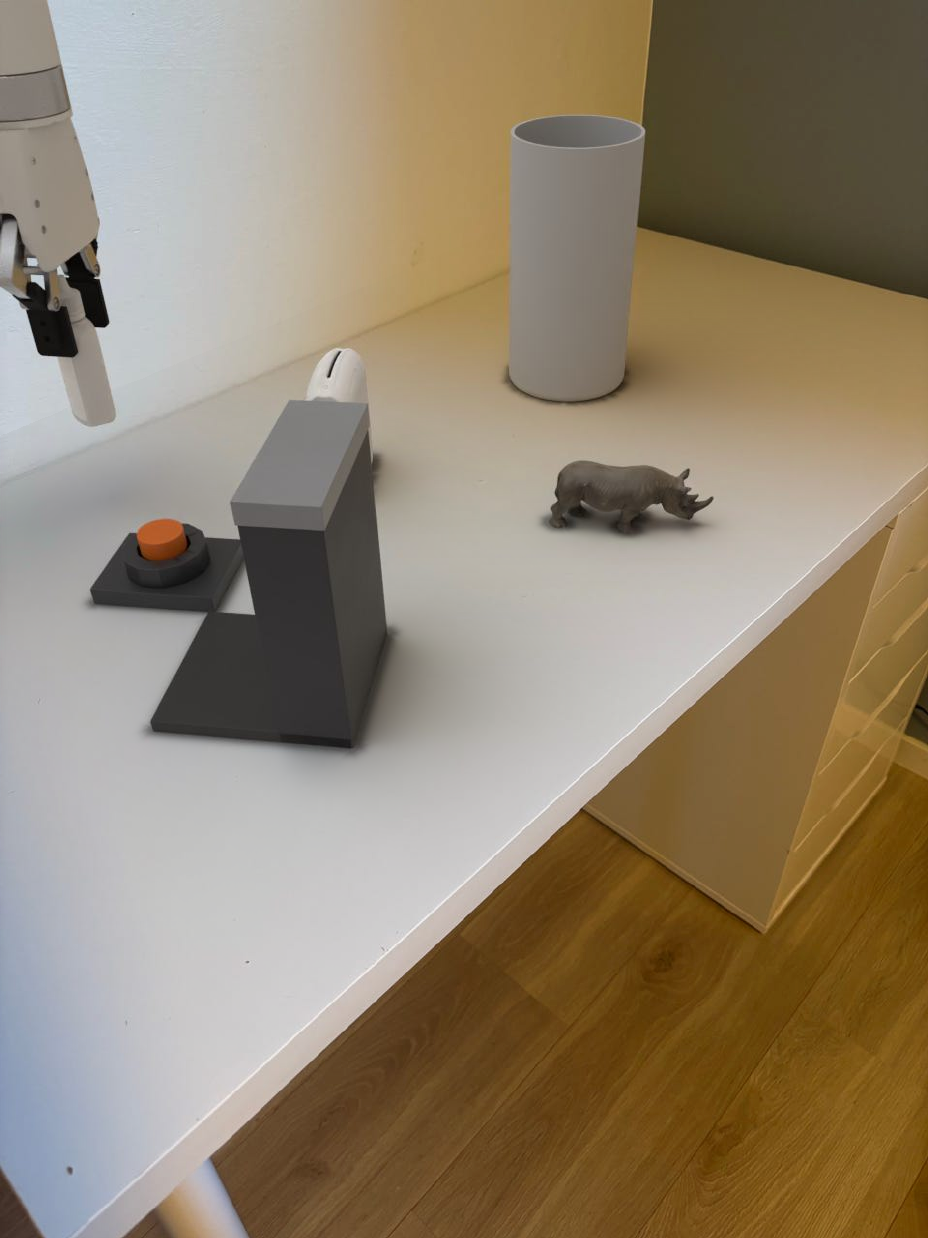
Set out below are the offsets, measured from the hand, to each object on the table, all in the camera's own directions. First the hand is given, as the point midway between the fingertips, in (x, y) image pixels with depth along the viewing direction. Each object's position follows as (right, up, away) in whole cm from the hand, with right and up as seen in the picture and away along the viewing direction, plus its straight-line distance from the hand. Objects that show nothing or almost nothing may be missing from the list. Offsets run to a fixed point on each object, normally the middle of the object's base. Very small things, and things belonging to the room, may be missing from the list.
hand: (75, 337), depth 82 cm
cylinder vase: (+43, +3, +27) cm, 51 cm away
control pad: (+8, -20, 0) cm, 22 cm away
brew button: (+8, -18, -2) cm, 19 cm away
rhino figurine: (+46, -15, +5) cm, 49 cm away
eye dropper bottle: (0, -6, +4) cm, 7 cm away
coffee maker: (+18, -28, -10) cm, 35 cm away
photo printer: (+21, -11, +11) cm, 26 cm away
